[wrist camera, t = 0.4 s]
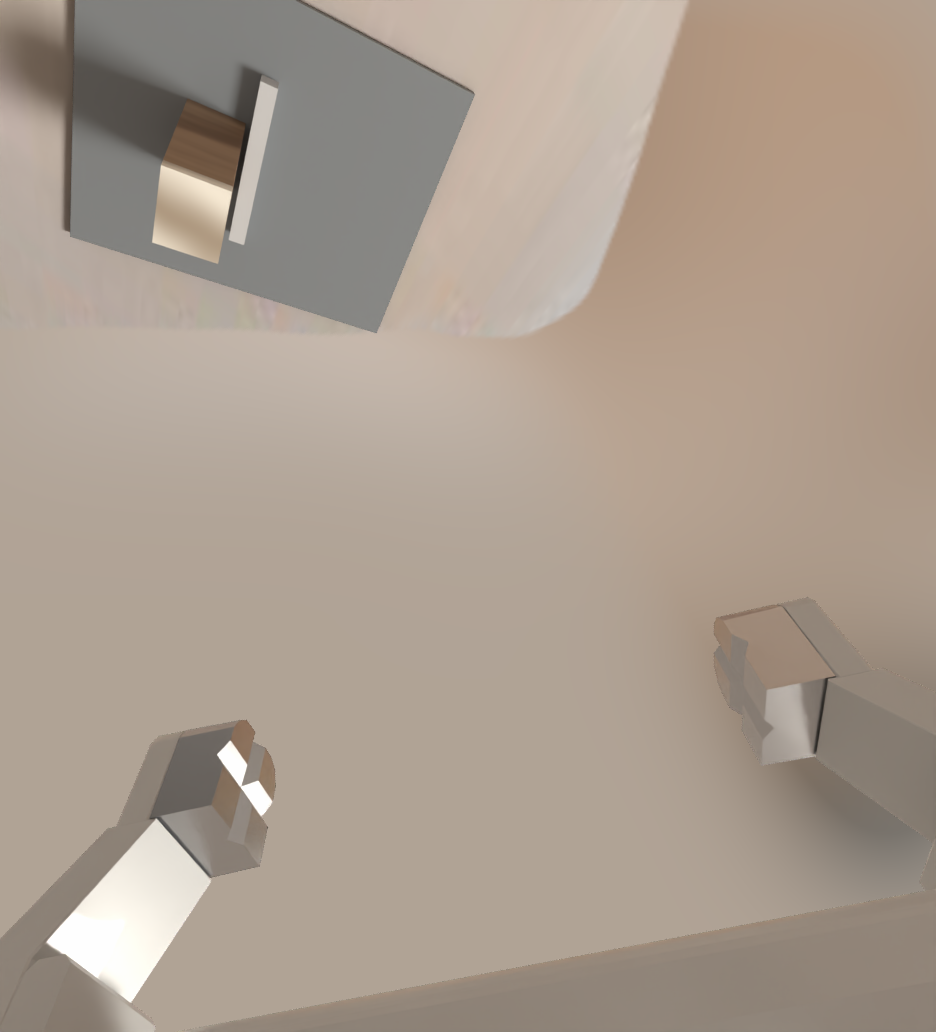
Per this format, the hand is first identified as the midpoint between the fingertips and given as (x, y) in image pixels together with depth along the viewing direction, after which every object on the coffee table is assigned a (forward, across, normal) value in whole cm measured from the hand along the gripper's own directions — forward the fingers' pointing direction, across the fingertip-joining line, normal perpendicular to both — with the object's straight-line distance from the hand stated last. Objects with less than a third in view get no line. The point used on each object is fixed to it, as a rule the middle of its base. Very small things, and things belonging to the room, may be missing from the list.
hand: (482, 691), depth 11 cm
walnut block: (+48, +14, -10) cm, 51 cm away
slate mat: (+50, +11, -8) cm, 52 cm away
